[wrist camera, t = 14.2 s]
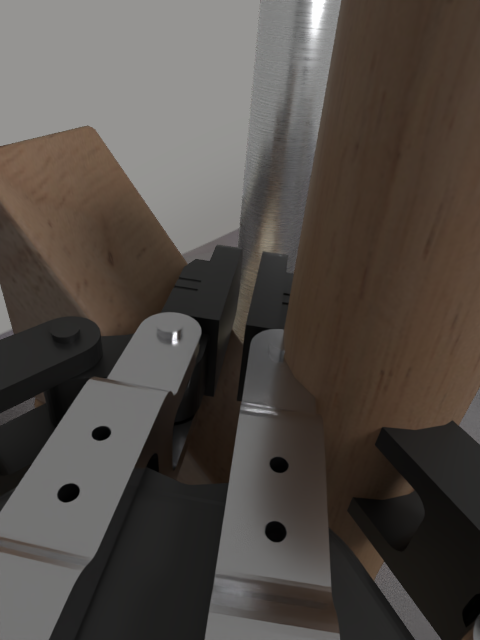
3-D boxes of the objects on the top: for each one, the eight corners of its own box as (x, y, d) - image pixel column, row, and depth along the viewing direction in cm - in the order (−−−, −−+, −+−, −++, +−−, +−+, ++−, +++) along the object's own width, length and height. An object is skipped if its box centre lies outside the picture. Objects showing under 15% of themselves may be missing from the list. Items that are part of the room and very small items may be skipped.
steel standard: (303, 419, 26) (586, -734, 8) (185, 399, 27) (209, -732, 9) (306, 345, 32) (478, -437, 14) (209, 330, 33) (253, -446, 14)
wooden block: (126, 460, 20) (67, -71, 10) (358, 598, 16) (696, -34, 6) (61, 528, 18) (-121, -104, 7) (321, 711, 14) (821, -74, 3)
